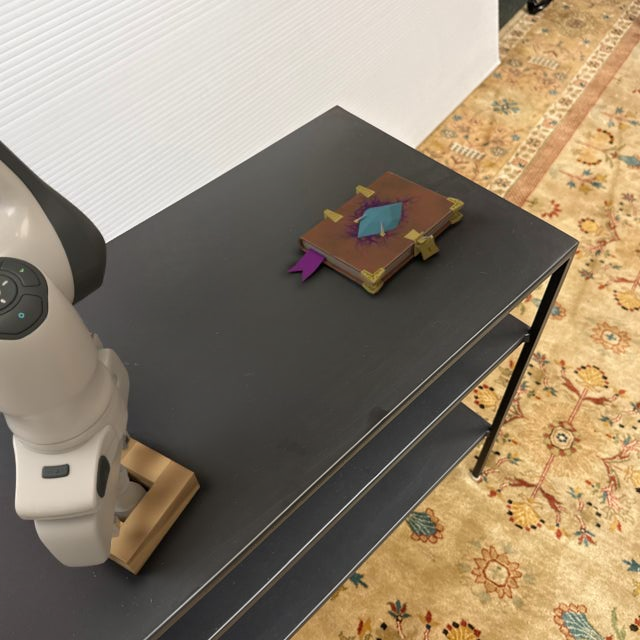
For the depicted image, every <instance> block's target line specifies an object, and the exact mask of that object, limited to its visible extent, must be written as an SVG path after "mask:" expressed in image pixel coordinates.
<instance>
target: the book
mask: <svg viewBox="0 0 640 640" xmlns="http://www.w3.org/2000/svg"><path fill="white" fill-rule="evenodd" d="M355 191H356V193H355V194H356V195H354V196H353V197H351V198H350V199H348V201H345V203H343V204H342V205H341V206H340V207H338V208H337V209H336V210H334V211H332V210H330V209H328V208H327V209H325V210H324V211H323V217H324V218H323V219H322V220H321V221H320V222H318V223H317V224H316V225H315V226H313V227H311V228H310V229H309V230H308V231H306V232H305V233H304V234H302V235H301V236H300V237H298V239H297V244H298V246H299V248H300V249H301V251H303V252H304V254H303V256H302V257H301V258H300V260H299V261H298V262H296V264H295V265H294V266H292V267H291V268H289V269H288V270H287V271H286V273H291V272H302V273H301V278H302V279H301V282H303V281H305V280H306V279H308V278H310V276H311V275H312V274H313V273H314V272H315V271H316V270H317V269H318V268H319V266H320V265H321V264H322V263H323V264H325V265H327V266H328V267H330V268H332V269H333V270H335V271H337V272H338V273H340V274H342V275H344V276H345V277H347V278H349V279H350V280H352V281H354V282H356V283H357V284H359V285H360V286H362V288H363V289H365V290H366V292H368V293H370V294H373V295H374V294H376V293H378V292H379V290H380V289H381V288H382V287H383V285H384V283H385V282H387V280H389V279H390V278H391V277H392V276H393V275H394V274H395V273H397V272H398V271H399V270H400V269H401V268H403V267H404V266H405V265H406V264H407V263H408V262H409V261H411V260H412V259H413V258H414V257H416V256H418V255H419V254H421V258H422V260H423V261H425V260H427V259H429V258H431V256H433V255H435V254H436V253H438V252H439V251H440V249H439V248H438V246H437V245H436V242H435V239H436V238H437V237H438V236H439V235H440V234H442V233H443V232H444V231H445V230H446V229H447V228H448V227H449V226H450V225H453V224H455V223H457V222H459V221H460V220H461V219H462V218H463V216H464V214H463V213H461V212H460V211H459V210H461V209H462V208H463V207H464V205H465V202H463V201H462V200H460V199H458V198H454V197H450V196H449V197H447V196H444V195H442V194H440V193H438V192H436V191H433V190H431V189H429V188H427V187H424V186H422V185H420V184H418V183H417V182H414V181H411V180H409V179H407V178H404V177H402V176H400V175H398V174H395V173H394V172H391V171H389V170H387V171H386V172H385V173H384V174H382V175H380V176H379V177H378V178H376V179H375V180H374V181H373V182H371V183H370V184H369V185H367V186H366V187H364V186H362V185H360V184H359V185H358V186H356V187H355Z"/></svg>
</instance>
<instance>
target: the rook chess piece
mask: <svg viewBox="0 0 640 640" xmlns="http://www.w3.org/2000/svg"><path fill="white" fill-rule="evenodd" d="M127 474H128V473H127V469H126V467H125V466H124V465H123V464H120V472H119V481H118V489H117V498H116V506H115V515H117V516H118V518H119V520H120V521H122V522H123V523H124V522H125V521H126V519H127V518H128V517H129V516H130V514H131V513H132V512H133V510H134V509H135V508H136V506H137V505H138V504H139V503H140V501H141V500H142V499H143V497H144V496H145V495H146V494H147V492H148V491H147V490H146V489H145V487H144V486H142V485H141V484H139V483H137V482H135V481H133V480H132V481H130V478H129V477H128V475H127ZM115 515H114V516H115Z"/></svg>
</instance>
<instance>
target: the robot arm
mask: <svg viewBox="0 0 640 640" xmlns="http://www.w3.org/2000/svg"><path fill="white" fill-rule="evenodd" d="M106 267H107V243H106V239H105V238H104V236H103V234H102V233H101V231H100V230H99V228H98V227H97V226H96V224H95V223H94V222H93V221H92V220H91V219H90V218H89V217H88V216H87V215H86V214H85V213H84V212H83V211H82V210H81V209H80V208H78V207H77V206H76V205H75V204H73V203H72V202H71V201H70V200H69V199H67V197H65V196H64V195H62V194H61V193H60V192H58V191H57V190H56V189H54V188H53V187H52V186H51V185H49V184H48V183H47V182H46V181H44V179H42V178H41V177H40V176H39V175H38V174H37V173H36V172H34V171H33V170H32V169H31V168H30V167H29V166H28V165H27V164H26V163H25V162H24V161H23V160H21V159H20V157H19V156H18V155H17V154H15V153H14V152H13V151H12V150H11V149H10V148H9V147H8V146H7V145H6V144H5V143H4V142H3V141H2V140H0V413H1V414H3V416H4V419H5V423H6V424H7V427H8V429H9V430H10V431H11V433H12V446H13V452H14V460H15V494H14V496H15V497H14V509H15V512H16V514H17V516H18V517H19V518H20V519H22V520H24V521H33V523H34V527H35V530H36V533H37V535H38V538H39V539H40V541H41V542H42V544H43V545H44V547H46V548H47V550H48V551H49V552H50V553H51V554H52V556H53V557H54V558H55V559H56V560H58V561H59V563H61V564H62V565H63V566H66V567H70V568H80V567H81V568H83V567H92V566H98V565H102V564H104V563H105V562H106V561H107V560H108V559H110V558H109V555H110V550H111V540H112V537H118V536H119V533H120V523H121V521H120V520H119V518H118V516H117V515H115V506H116V498H117V489H118V481H119V472H120V464H121V455H122V450H123V451H125V450H128V449H129V442H130V438H131V436H130V434H129V432H128V427H127V425H128V419H129V412H128V403H129V396H130V387H131V385H130V384H131V383H130V376H129V372H128V370H127V368H126V366H125V365H124V363H123V361H122V360H121V358H120V357H119V355H118V354H117V353H116V352H115V350H113V349H112V348H109V347H108V348H104V345H103V343H102V341H101V339H100V336H99V335H98V334H97V333H95V332H90V331H89V328H88V327H87V325H86V324H85V322H84V320H83V318H82V317H81V316H80V314H79V312H78V311H77V309H76V308H75V306H76V305H77V304H78V303H80V302H81V301H83V300H84V299H86V298H87V297H88V296H90V295H91V294H93V293H94V292H96V291H97V290H98V289H100V288H101V287H102V285H103V282H104V278H105V273H106ZM114 515H115V516H114Z"/></svg>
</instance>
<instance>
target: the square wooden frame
mask: <svg viewBox="0 0 640 640" xmlns="http://www.w3.org/2000/svg"><path fill="white" fill-rule="evenodd" d="M121 464H123V465H124V466H125V467H126V469H127V473H128V474H127V475H128V477H129V480H132V481H133V482H135V483H138V484H140V485H141V486H142V487H143V488H146V489H148V491H147V494H146V495H145V496H144V497H143V499H142V500H141V501H140V503H139V504H138V505H137V506H136V508H135V509H134V510H133V512H132V513H131V514H130V516H129V517H128V518H127V519H126V521H125V522H124V523H123V522H122V521H121V523H120V533H119V536H118V537H112V540H111V550H110V555H109V558H108V559H110V560H112V561H113V562H115V563H116V564H118V565H119V566H121V567H123V568H124V569H125V570H127V571H129V572H131V573H132V574H134V575H137V574H139V572H140V571H141V569H142V568H143V566H144V565H145V563H146V562H147V561H148V559H149V558H150V557H151V555H152V554H153V552H154V551H155V549H157V547H158V545H159V544H160V543H161V542H162V540H163V539H164V537H165V536H166V535H167V533H168V532H169V530H170V529H171V527H172V526H173V525H174V523H175V522H176V521H177V519H178V518H179V517H180V515H181V514H182V513H183V511H184V510H185V508H186V507H187V506H188V504H189V503H190V502H191V500H192V498H194V496H195V495H196V493H198V490H200V484H199V481H198V479H197V477H196V474H195V472H194V471H192V470H190V469H188V468H186V467H185V466H183V465H181V464H180V463H177V462H176V461H174V460H172V459H171V458H168V457H166V456H165V455H163V454H161V453H160V452H158V451H156V450H154V449H153V448H150V447H148V446H147V445H145V444H143V443H141V442H140V441H138V440H136V439H134V438H132V437H130V442H129V449H128V450H125V451H123V450H122V455H121Z"/></svg>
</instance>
